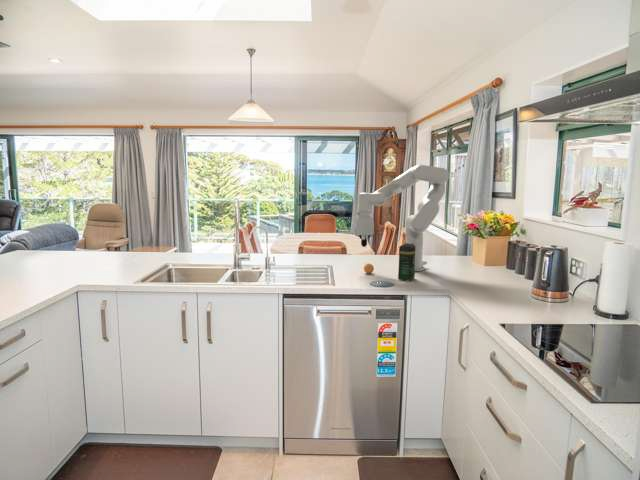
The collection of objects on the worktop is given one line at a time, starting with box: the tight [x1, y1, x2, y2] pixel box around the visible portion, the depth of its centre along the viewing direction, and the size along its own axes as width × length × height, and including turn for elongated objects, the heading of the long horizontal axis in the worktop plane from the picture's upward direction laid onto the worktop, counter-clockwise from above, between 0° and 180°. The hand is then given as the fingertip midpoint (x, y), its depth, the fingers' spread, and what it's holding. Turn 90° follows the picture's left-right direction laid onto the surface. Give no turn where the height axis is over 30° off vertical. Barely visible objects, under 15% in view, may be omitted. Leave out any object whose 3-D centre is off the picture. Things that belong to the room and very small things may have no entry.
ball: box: [363, 263, 375, 274], centre depth 226 cm, size 6×6×6 cm
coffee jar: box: [397, 242, 416, 281], centre depth 211 cm, size 10×8×19 cm
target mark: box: [369, 280, 395, 288], centre depth 201 cm, size 12×12×1 cm
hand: (363, 246), depth 233 cm, fingers closed
